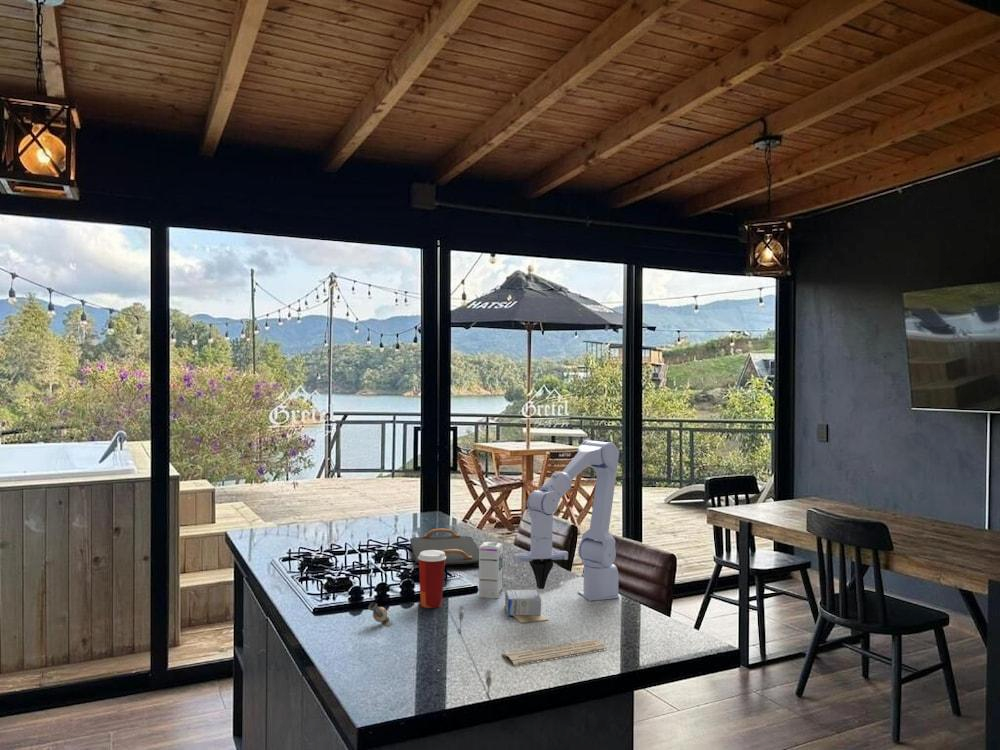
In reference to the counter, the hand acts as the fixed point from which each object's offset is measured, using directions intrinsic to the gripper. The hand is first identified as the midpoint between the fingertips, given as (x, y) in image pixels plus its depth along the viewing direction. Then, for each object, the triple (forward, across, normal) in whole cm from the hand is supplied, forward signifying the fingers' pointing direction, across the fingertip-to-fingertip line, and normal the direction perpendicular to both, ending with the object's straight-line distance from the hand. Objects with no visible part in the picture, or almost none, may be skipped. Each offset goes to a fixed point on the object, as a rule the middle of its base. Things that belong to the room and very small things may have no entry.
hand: (540, 587), depth 187 cm
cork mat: (+6, +4, 0) cm, 8 cm away
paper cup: (+7, +26, -13) cm, 30 cm away
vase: (+7, +42, -1) cm, 43 cm away
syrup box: (+7, +8, -17) cm, 20 cm away
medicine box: (+4, 0, 0) cm, 4 cm away
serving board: (+7, +11, -63) cm, 65 cm away
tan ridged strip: (+7, +7, +26) cm, 28 cm away
